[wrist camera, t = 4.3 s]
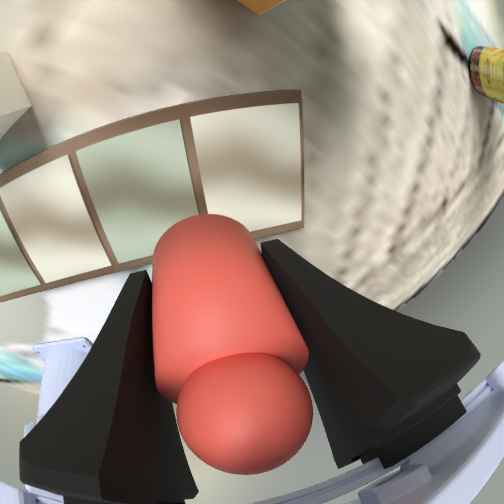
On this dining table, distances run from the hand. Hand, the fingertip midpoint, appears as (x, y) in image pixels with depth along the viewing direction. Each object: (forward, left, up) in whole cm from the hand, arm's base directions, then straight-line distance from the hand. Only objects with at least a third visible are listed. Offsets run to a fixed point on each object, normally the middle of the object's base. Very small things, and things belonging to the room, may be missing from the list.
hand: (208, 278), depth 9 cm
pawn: (0, 0, -1) cm, 1 cm away
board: (0, +7, -9) cm, 11 cm away
